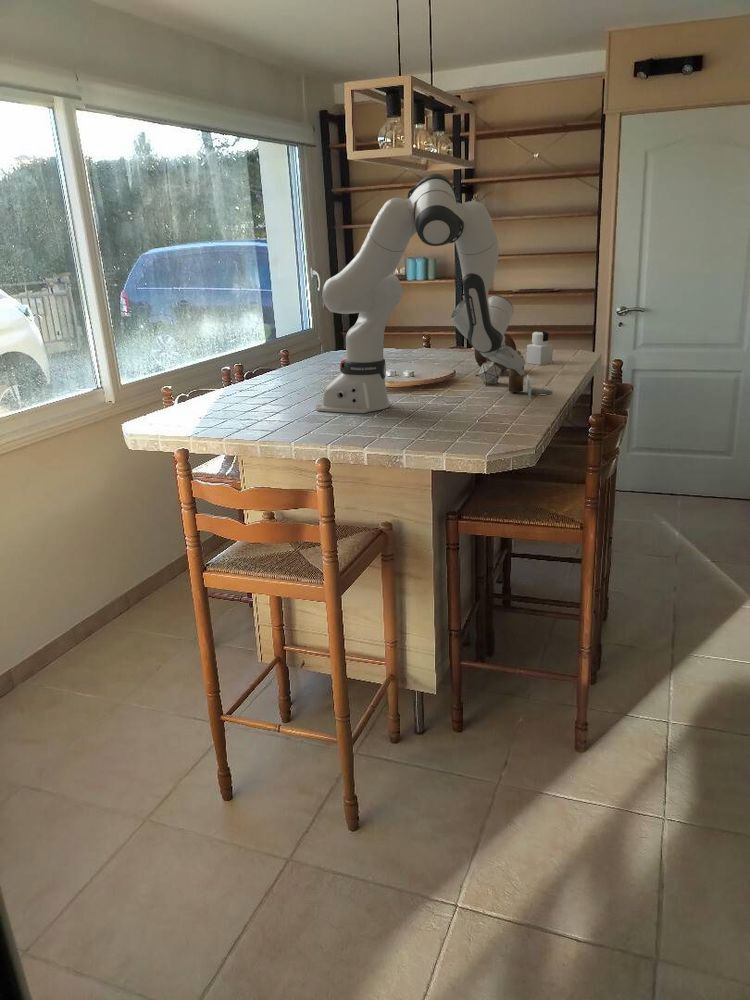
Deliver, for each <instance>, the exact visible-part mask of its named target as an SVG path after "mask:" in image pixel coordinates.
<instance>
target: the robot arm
mask: <svg viewBox="0 0 750 1000" xmlns="http://www.w3.org/2000/svg"><path fill="white" fill-rule="evenodd" d="M455 193H456V192H455V189H454V186H453V185H452V182H451V181H450V180H449V179H448V178H447V177H446V176H445V175H442V174H439V173H432V174H429V175H426V176H425V177H423V178H422V179H420V180H419V182H418V183H417V184H416V185H415V186H413V188H411V189H410V190H409V191H408V193H407V199H405V198H401V197H392V198H390V199H388V200H386V201H385V203H384V204H383V205H382V207H380V209H379V211H378V213H377V214H376V216H375V217H374V220H373V221H372V223H371V225H370V227H369V229H368V232H367V235H366V237H365V239H364V241H363V243H362V245H361V247H360V249H359V251H358V252H357V254H356V255H355V256H354V257H353V258H352V260H351V261H350V262H349V263H348V264H346V265H345V267H343V269H342V270H341V271H339V272H338V273H337V274H335V275H333V276H331V277H330V278H328V279H327V280H326V281H325V283H324V284H323V286H322V292H321V296H322V300H323V303H324V306H325V308H326V309H328V311H329V312H331V313H333V314H334V313H335V314H341V315H343V314H344V315H350V314H358V318H357V320H356V322H355V323H354V325H352V326H351V327H350V328H349V329H348V331H347V333H346V335H345V348H346V349H345V351H346V355H345V356H346V359H345V358H344V359H341V361H340V364H339V369H340V370H339V371H340V373H339V374H338V375H337V376H336V377H334V378H333V379H332V380H331V381H330V382H328V383H327V384H326V386H324V390H323V392H322V393H323V394H322V399H321V400H319V401H318V402H316V404H315V410H316V411H318V412H332V413H334V412H335V413H352V414H366V413H370V412H375V411H381V410H385V409H388V408H389V407H390V406H391V404H390V400H389V396H388V391H387V386H386V376H387V370H386V369H387V367H386V365H387V364H386V360H385V358H384V341H385V340H384V338H385V336H384V335H385V329H386V326H387V322H388V319H389V318H390V315H391V313H392V311H393V310H394V309H395V307H397V305H398V304H399V303H400V301H401V298H402V295H403V287H402V284H401V280H400V279H399V278H398V277H397V275H395V274H393V273H394V272H395V271H396V269H397V268H398V265H399V263H400V262H401V260H402V257H403V255H404V253H405V252H406V249H407V247H408V244H409V242H410V240H411V238H413V237H414V235H415V234H416V233H417V236H418V238H419V239H420V241H421V242H422V243H423V244H425V245H428V246H430V247H440V246H445V245H447V244H453V243H454V244H455V247H456V251H457V256H458V259H459V264H460V269H461V276H462V277H461V279H462V287H463V295H464V297H463V300H461V301H459V303H458V304H457V305H456V306H455V308H454V309H453V311H452V313H451V317H450V319H451V322H452V323H453V326H454V327H455V328H456V329H457V331H459V333H460V334H461V335H462V336H463V337H464V338H466V339H467V341H468V342H469V344H470V346H471V347H472V348H473V349H474V351H475V350H477V351H479V352H480V353H481V354H482V355H483V356H484V357H487V358H488V359H490V360H491V361H493V362H496V363H498V364H501V365H504V366H505V367H506V368H508V369H507V370H509V368H512V369H514V370H516V372H517V373H518V374H519V375H521V376H522V375H523V374H524V375H525V373H526V371H525V369H524V370H523V369H522V367H523V366H524V367H525V365H526V364H527V363H526V359H525V358H524V357H523V358H522V357H521V356H522V355H521V356H520V355H519V354H518V353H517V352H516V351H515V350H514V349H512V348H511V347H509V346H506V345H505V336H504V334H505V333H506V332H507V329H508V328H509V324H510V322H511V320H512V317H513V315H514V307H513V304H512V303H511V302H510V300H509V299H507V298H506V297H505V296H502V295H498V294H497V295H491V296H489V291H490V287H491V282H492V278H493V276H494V273H495V270H496V267H497V266H498V263H499V262H498V261H499V240H498V236H497V233H496V229H495V226H494V223H493V220H492V217H491V216H490V213H489V211H488V209H487V207H486V206H485V204H483V203H481V202H479V201H478V200H477V201H475V200H472V201H471V200H469V201H466V202H464V203H460V202H458V201H457V200H456V194H455Z"/></svg>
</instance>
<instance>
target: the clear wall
mask: <svg viewBox="0 0 750 1000" xmlns="http://www.w3.org/2000/svg"><path fill="white" fill-rule="evenodd" d="M525 385H526V386H525V387H526V388H525V389H526V391H527V392H528V393H527V395H528V396H529V397H528V399H529V398H531V399H532V394H531V390H532V383H531V379H530V376H529V375H528V374H527V375H526V384H525Z"/></svg>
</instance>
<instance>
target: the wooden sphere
mask: <svg viewBox="0 0 750 1000" xmlns="http://www.w3.org/2000/svg"><path fill="white" fill-rule="evenodd" d="M504 336H505V345H506V346H509V347H511V348H512V349H514V350H515V351H516V350H517V346H516V343H515V341H514V339H513V338H512V337H511V336H510V335H509V334H508V333H506V332H505V334H504ZM474 357H475V358H474V359H475V362H476V363H477V366H479V368H481V365H482V363H481V361H482V362H483V363H487V362H492V361H491V360H490V359H488V358H487V357H484V356H483V355H482V354H481V353H480V352H479V351H477V350H475V349H474ZM494 363H495V362H494ZM496 365H497V366H498V367H499V368H500V369H504V371H502V372H501V373H503V372H506V371H508V370H509V369H508V368H506V367H505V366H504V365H501V364H498V363H496Z"/></svg>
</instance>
